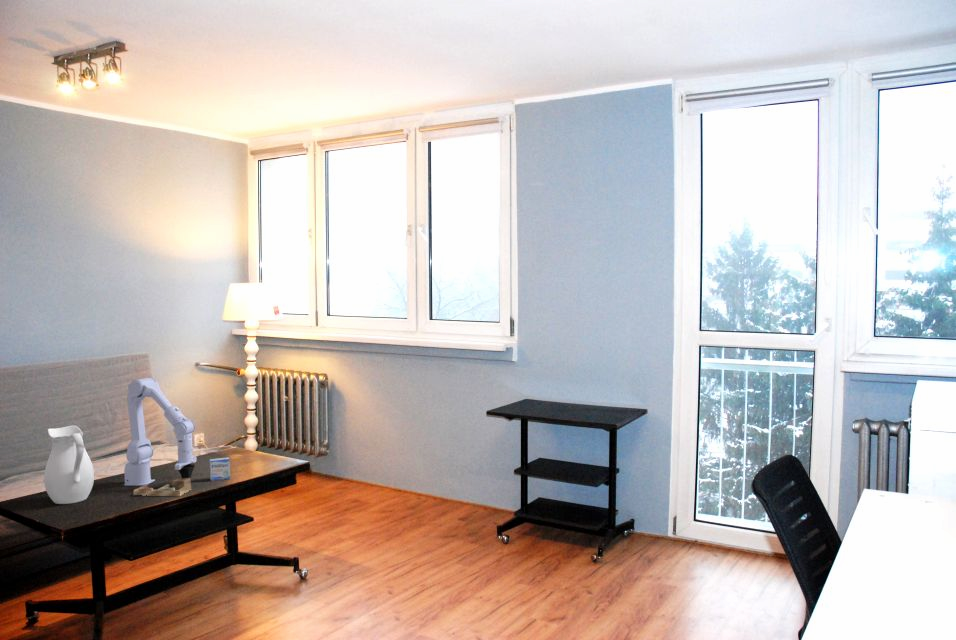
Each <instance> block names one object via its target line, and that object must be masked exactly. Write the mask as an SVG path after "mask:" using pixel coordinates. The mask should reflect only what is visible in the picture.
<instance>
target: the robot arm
mask: <svg viewBox="0 0 956 640" xmlns="http://www.w3.org/2000/svg"><path fill="white" fill-rule="evenodd" d="M127 388H128V389H127V390H128V393H127V397H126V399H127V412H128V418H129V420H128V421H129V429H130V438H131V440H130V442H129V443H128V444H127V446H126V448H127V451H126V455H125V457H126V460H127V461H128V462H127V463H126V464H125V465H124V469H123V470H124V471H123V472H124V484H123V486H143V485H145V484H148V485H149V484H151V483H153V482H155V481H156V479H154V478H153V479H152V476H151V475H152V473H151V459H152V457H153V456H154V448H153V447H152V444H151V443H152V442H151V440H149V439H148V438H147V434H146V433H147V432H146V425H145V417H144V407H143V400H144V399H146V398H152V399H153V401H154V402H155V403H156V404H157V405H158V406H159V407H160V408H161V409H162V411H164V412H163V415H164V417H165V419H166V420H167V422H169V424H170V425H171V426H172V427H173V429H172V430H173V432H174V435H175V436H176V437H175V438H176V440H177V441H176V442H177V460H178V461H177V462H176V464H174V470H175V471H178V472H179V474H180V478H190V480H191V479H192V475H193V471H194V469H195V466H196V465H195V463H196V462H197V461H198V460H197V456H194V449H193V447H194V446H193V432H194V431H195V429H196V428H195V427H196V426H195V422H193V420H192V419H189V418H187V417H186V416H185V415H184V414H183V413H182V412H181V409H180V408H179V407H177V406H176V405H175V406H174V405H172V404H171V403H170V401H169V400H168V398H167V397H166V396H165V394H164V393H163V392H162V390H161V387H160V383H158V381H157V380H156V378H154V377H151V376H148V377H145V378H138V379H133V380H132V381H131V382H130V383H129V384H128V385H127Z"/></svg>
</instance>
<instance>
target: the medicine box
mask: <svg viewBox="0 0 956 640" xmlns="http://www.w3.org/2000/svg"><path fill="white" fill-rule="evenodd" d="M230 463H231V461H230V457H229V456H228V457H220V458H210V459H209V477H210V482H213V481H212V480H218V481H222V480H221V479H226V480H230V479H231V466H230V465H231V464H230Z"/></svg>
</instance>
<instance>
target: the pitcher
mask: <svg viewBox="0 0 956 640" xmlns="http://www.w3.org/2000/svg"><path fill="white" fill-rule="evenodd" d="M47 435H48V437H49V438H50V441H51V450H50V454H49V456H48V459H47V462H46V466H45V469H44V477H43V478H44V479H43V482H44V488H45V491H46V493H47V496H48V497H49V498H50V500H51V501H52V502H53V503H54V504H57V505H69V504H75V503H79V502H82V501H85V500H87V498H88V497H89V496H90V493H91V492H92V489H93V486H94V482H95V481H94V480H95V472H94V471H95V470H94V469H95V468H94V465H93V463H92V461H91V457H90V456H89V454H88V452H87V449H86V447H85V444H84V440H83V435H84V432H83V431H82V430H81V428H80V427H79V426H78V425H74V424H73V425H72V424H71V425H67V426H63V427H56V428H48V429H47Z"/></svg>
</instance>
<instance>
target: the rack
mask: <svg viewBox="0 0 956 640" xmlns="http://www.w3.org/2000/svg"><path fill="white" fill-rule="evenodd" d="M189 490H190V491H192V483H191V484H188V485H186V486H185V487H183V488H181V489H179V490H175V488H173V487H171V485H170V483H167V484H166V485H163V486H161V487H159V488H158V489H154V488H153V487H149V484H145V485H140V486H139V487H138V488H135V489H133V491H132V492H133V496H134V495H142V496H141V497H181V496H183V495H184V493H185V494H186V493H188V492H190V491H189ZM146 495H147V496H146Z"/></svg>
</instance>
